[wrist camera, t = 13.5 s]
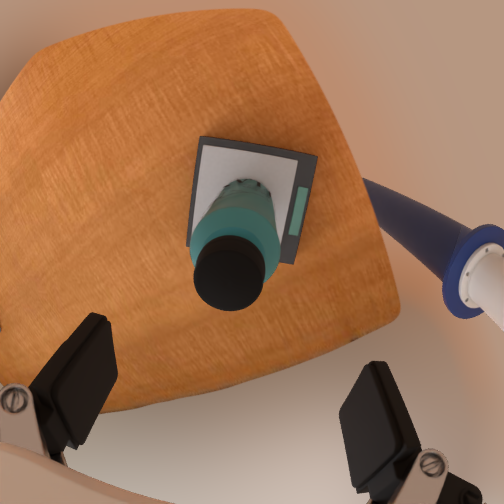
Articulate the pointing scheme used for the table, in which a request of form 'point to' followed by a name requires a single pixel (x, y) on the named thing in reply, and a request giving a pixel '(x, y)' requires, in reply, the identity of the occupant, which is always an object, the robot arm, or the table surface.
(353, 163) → the table surface
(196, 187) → the scale
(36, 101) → the table surface
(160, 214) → the table surface
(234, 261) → the beverage bottle
